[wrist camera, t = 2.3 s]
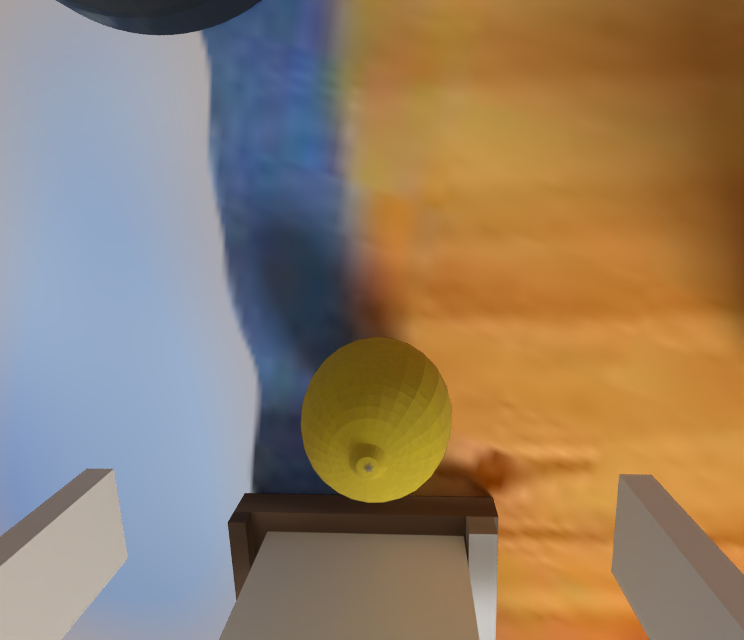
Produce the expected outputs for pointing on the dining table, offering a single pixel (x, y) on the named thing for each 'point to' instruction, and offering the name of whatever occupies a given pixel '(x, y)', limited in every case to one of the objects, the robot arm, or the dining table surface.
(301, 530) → the rail board
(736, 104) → the dining table surface
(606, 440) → the dining table surface
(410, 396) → the lemon
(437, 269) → the dining table surface
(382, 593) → the block
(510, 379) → the dining table surface
